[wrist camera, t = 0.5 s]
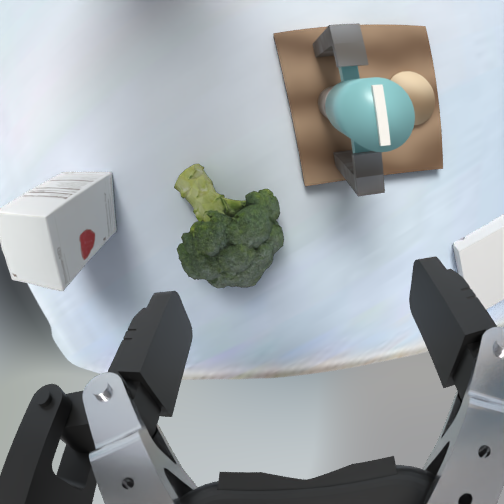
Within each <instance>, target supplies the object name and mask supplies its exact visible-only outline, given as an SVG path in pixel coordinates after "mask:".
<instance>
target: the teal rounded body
mask: <svg viewBox="0 0 504 504" xmlns="http://www.w3.org/2000/svg"><path fill="white" fill-rule="evenodd" d="M338 68H339V73H340V78H341V82H340V83H338V84H336V85H335V86H334V87H333V88H332V89H331V90H330V92H329V93H328V95H327V98H326V102H325V110H326V114H327V117H328V119H329V121H330V123H331V124H332V125H333V126H334V127H335V128H336V129H337V130H338V131H340V132H341V133H343V134H344V135H346V136H347V137H349V138H350V139H351V143H352V151H353V153H359V152H368V151H375V152H388V151H392V150H394V149H396V148H398V147H400V146H401V145H402V144H404V143H405V142H406V141H407V139H408V138H409V136H410V135H411V133H412V130H413V127H414V123H415V112H414V107H413V104H412V101H411V99H410V97H409V96H408V94H407V93H406V91H405V90H404V89H403V88H402V87H401V86H399V85H398V84H397V83H395V82H393V81H391V80H389V79H385V78H380V77H373V78H362V79H360V76H359V71H358V66H348V67H338Z"/></svg>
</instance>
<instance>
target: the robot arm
mask: <svg viewBox="0 0 504 504" xmlns="http://www.w3.org/2000/svg"><path fill="white" fill-rule="evenodd" d="M409 302H410V309H411V313H412V315H413V317H414V320H415V322H416V324H417V326H418V328H419V330H420V333H421V335H422V337H423V339H424V342H425V344H426V346H427V349H428V351H429V353H430V356H431V357H432V360H433V363H434V365H435V368H436V370H437V373H438V375H439V378H440V380H441V383H442V385H443V388H446V387H449V386H452V385H455V386H456V388H457V390H458V391H457V393H456V395H455V397H454V400H453V403H452V406H451V409H450V412H449V414H448V417H447V419H446V422H445V425H444V427H443V429H442V432H441V434H440V436H439V439H438V441H437V443H436V445H435V447H434V449H433V451H432V453H431V454H430V456H429V458H428V459H427V462H426V463H425V465H424V467H423V469H420V468H415V467H412V466H404V465H395V460H394V456H392V457H387V458H382V459H378V460H373V461H368V462H363V463H356V464H351V465H349V466H346V467H344V468H341V469H339V470H336V471H333V472H330V473H327V474H324V475H322V476H318V477H316V478H312V479H308V480H302V479H295V478H289V477H283V476H278V475H272V474H267V473H262V472H259V473H257V472H256V473H255V472H254V473H253V472H252V473H244V472H239V473H238V472H220V475H219V481H217V482H212V483H209V484H205V485H203V486H201V487H197V486H196V485H195V483H194V482H193V481H192V479H191V478H190V477H189V476H188V475H187V473H186V472H185V471H184V469H183V468H182V466H181V465H180V463H179V461H178V460H177V458H176V456H175V454H174V453H173V451H172V449H171V447H170V446H169V444H168V442H167V440H166V438H165V436H164V435H163V433H162V431H161V429H160V427H159V426H158V424H157V423H158V419H159V416H165V417H172V414H173V410H174V407H175V403H176V399H177V395H178V391H179V387H180V383H181V379H182V376H183V372H184V368H185V364H186V361H187V357H188V353H189V350H190V346H191V342H192V327H191V323H190V321H189V318H188V316H187V314H186V311H185V309H184V306H183V304H182V301H181V299H180V296H179V294H178V293H177V292H176V291H169V292H159V293H154V294H153V296H152V298H151V300H150V302H149V304H148V306H147V308H143V309H142V310H141V311H140V312H139V313H138V314H137V315H136V316H135V317H134V318H133V320H132V322H131V324H130V326H129V328H128V331H127V332H126V334H125V336H124V340H122V342H121V344H120V346H119V348H118V351H117V353H116V355H115V357H114V359H113V361H112V364H111V366H110V368H109V370H108V372H107V373H102V374H99V375H97V376H95V377H94V378H92V379H91V380H90V381H89V382H88V383H87V385H86V386H85V388H84V390H83V391H79V392H74V393H69V394H65V393H64V392H63V391H62V389H61V388H60V387H59V386H57V385H55V384H49V385H45V386H43V387H42V388H40V389H39V390H38V391H37V392H36V393H35V394H34V396H33V398H32V400H31V402H30V404H29V406H28V408H27V410H26V413H25V415H24V417H23V419H22V422H21V424H20V426H19V428H18V431H17V434H16V436H15V438H14V440H13V443H12V445H11V448H10V451H9V453H8V456H7V458H6V461H5V464H4V467H3V469H2V472H1V475H0V504H92V501H93V497H94V492H95V488H96V484H98V487H99V490H100V492H101V495H102V498H103V500H104V503H105V504H497V502H498V499H499V496H500V494H501V491H502V488H503V486H504V327H497V326H496V324H495V323H494V321H493V319H492V318H491V316H490V315H489V313H488V312H487V310H486V309H485V307H484V306H483V305H482V303H481V302H480V300H479V299H478V297H476V295H475V293H474V292H473V290H472V289H470V286H469V285H468V283H467V282H466V281H465V279H464V278H463V277H462V276H461V275H459V274H458V273H456V272H455V271H453V270H452V269H448V270H447V269H446V268H445V267H444V265H443V264H442V263H441V261H440V260H439V259H438V258H437V257H430V258H424V259H418V260H415V262H414V265H413V273H412V282H411V290H410V297H409ZM60 439H61V440H62V441H63V442H65V443H66V447H65V450H64V453H63V456H62V459H61V463H60V466H59V469H58V472H57V475H55V474H54V472H53V470H52V461H53V458H54V455H55V452H56V449H57V446H58V443H59V440H60Z"/></svg>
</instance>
